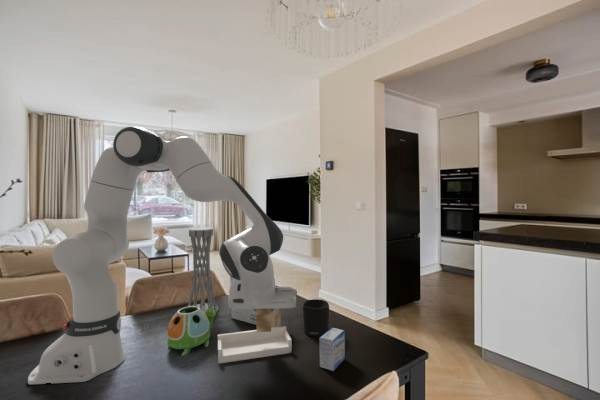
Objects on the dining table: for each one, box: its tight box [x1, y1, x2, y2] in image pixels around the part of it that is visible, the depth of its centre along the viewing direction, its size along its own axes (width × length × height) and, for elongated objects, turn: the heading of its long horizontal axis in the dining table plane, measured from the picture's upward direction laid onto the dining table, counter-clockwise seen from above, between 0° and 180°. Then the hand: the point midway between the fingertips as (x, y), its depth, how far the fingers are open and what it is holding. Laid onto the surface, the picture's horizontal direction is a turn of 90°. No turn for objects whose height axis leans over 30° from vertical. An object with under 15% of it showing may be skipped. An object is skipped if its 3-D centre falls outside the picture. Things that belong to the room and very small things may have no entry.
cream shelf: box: [217, 325, 293, 364], centre depth 96 cm, size 22×8×5 cm, turn 106°
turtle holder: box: [166, 305, 217, 357], centre depth 103 cm, size 12×18×12 cm
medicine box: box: [319, 327, 346, 372], centre depth 90 cm, size 8×4×9 cm, turn 148°
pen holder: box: [302, 298, 330, 338], centre depth 110 cm, size 9×9×10 cm
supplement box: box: [272, 308, 282, 328], centre depth 111 cm, size 8×5×13 cm, turn 168°
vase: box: [187, 226, 219, 314], centre depth 130 cm, size 14×13×35 cm
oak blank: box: [255, 309, 272, 332], centre depth 97 cm, size 4×4×10 cm
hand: (264, 310), depth 97 cm, fingers closed on oak blank, 4 cm apart
